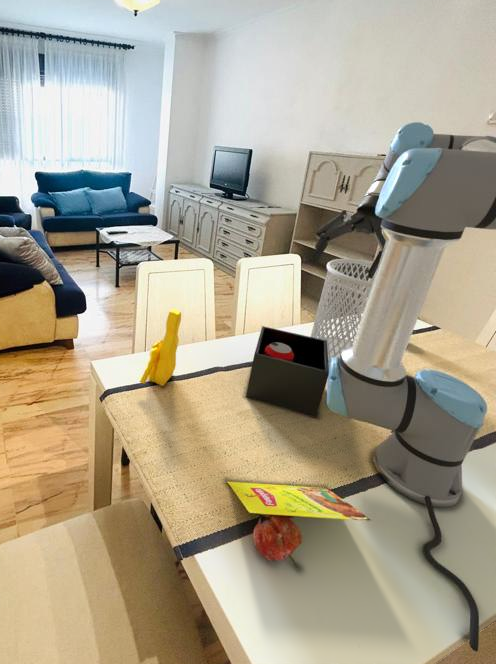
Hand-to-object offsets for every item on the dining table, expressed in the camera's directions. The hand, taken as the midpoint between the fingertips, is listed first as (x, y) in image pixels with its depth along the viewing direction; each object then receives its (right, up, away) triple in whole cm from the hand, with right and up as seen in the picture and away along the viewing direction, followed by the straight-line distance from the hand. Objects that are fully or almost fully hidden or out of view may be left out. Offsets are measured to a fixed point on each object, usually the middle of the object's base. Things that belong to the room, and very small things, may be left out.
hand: (340, 267), depth 97 cm
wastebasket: (+17, -28, +29) cm, 44 cm away
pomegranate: (-28, -50, -32) cm, 66 cm away
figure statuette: (-45, -31, +12) cm, 56 cm away
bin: (-11, -33, +11) cm, 37 cm away
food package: (-13, -44, -27) cm, 54 cm away
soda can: (-13, -33, +12) cm, 37 cm away
